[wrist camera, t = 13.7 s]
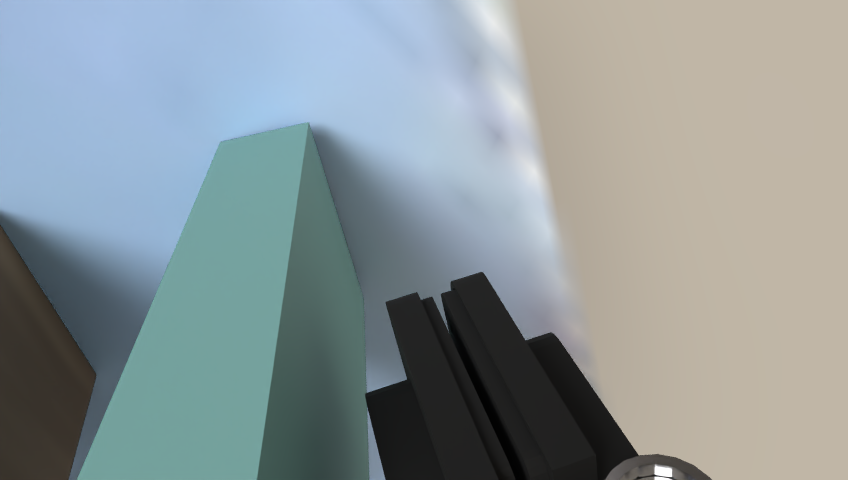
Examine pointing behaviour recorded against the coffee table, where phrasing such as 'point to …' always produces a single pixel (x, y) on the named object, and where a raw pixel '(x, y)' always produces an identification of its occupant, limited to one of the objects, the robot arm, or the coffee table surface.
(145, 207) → the coffee table surface
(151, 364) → the tile
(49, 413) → the domino
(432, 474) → the robot arm
